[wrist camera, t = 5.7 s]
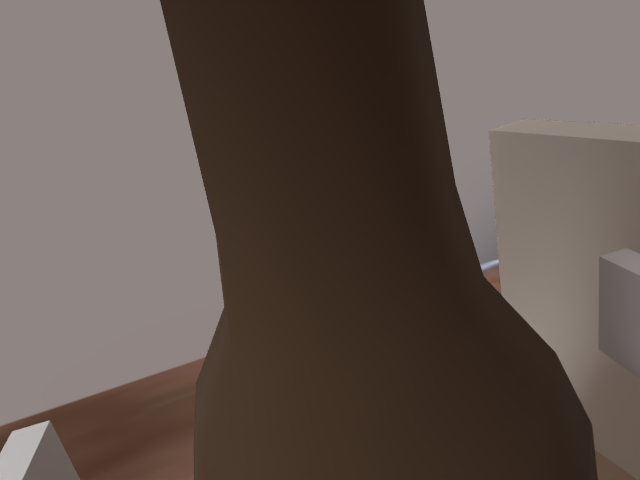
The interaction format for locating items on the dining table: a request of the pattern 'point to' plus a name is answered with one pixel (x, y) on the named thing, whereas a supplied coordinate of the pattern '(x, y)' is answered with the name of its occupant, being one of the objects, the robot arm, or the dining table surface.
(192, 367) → the dining table surface
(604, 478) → the screen
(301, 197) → the beer bottle
